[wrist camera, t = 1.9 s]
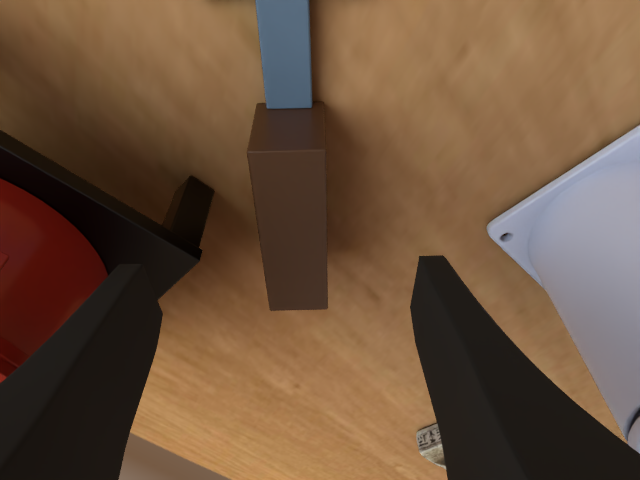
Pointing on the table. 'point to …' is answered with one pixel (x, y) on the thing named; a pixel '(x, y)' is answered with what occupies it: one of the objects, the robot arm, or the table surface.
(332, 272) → the table surface
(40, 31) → the table surface
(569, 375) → the table surface
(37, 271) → the pot
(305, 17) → the spatula
